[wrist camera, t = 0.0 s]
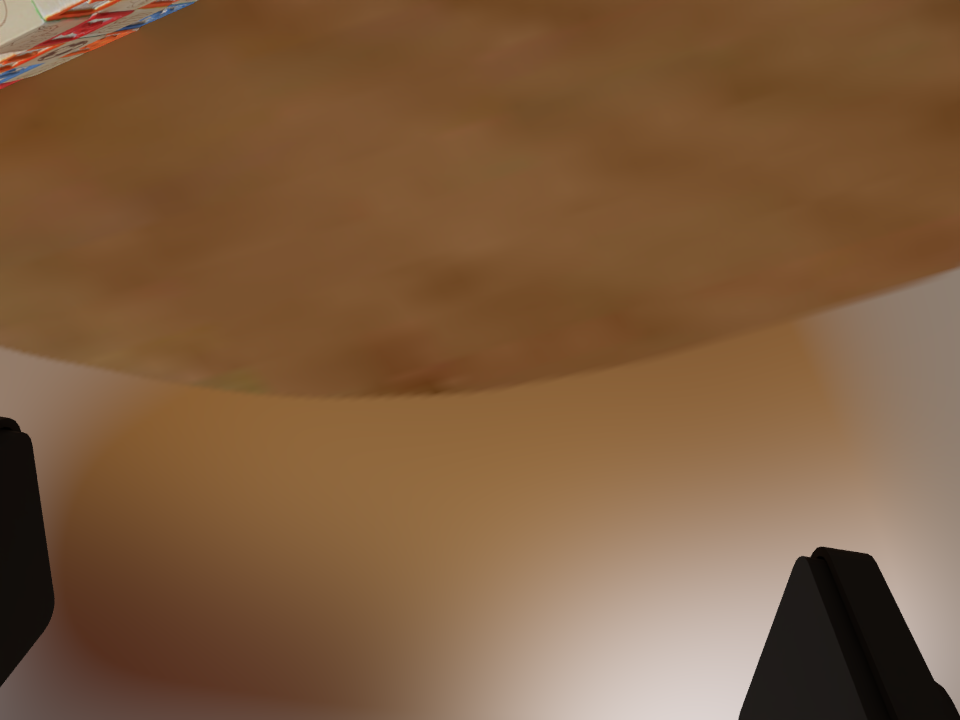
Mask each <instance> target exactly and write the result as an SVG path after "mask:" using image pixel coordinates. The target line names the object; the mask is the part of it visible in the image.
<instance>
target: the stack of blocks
mask: <svg viewBox="0 0 960 720" xmlns="http://www.w3.org/2000/svg"><path fill="white" fill-rule="evenodd" d="M196 1H198V0H0V89H2V88H4V87H6V86H9V85H11V84H13V83H15V82H17V81H20V80H22V79H23V78H27V77H31V76H35V75H37V74H40V73H42V72H44V71H47V70H49V69H51V68H53V67H56V66H58V65H60V64H62V63H64V62H67V61H69V60H71V59H73V58H75V57H78V56H80V55H82V54H84V53H85V52H89V51H91V50H94V49H96V48H98V47H101V46H103V45H105V44H107V43H110V42H112V41H114V40H116V39H119V38H121V37H123V36H125V35H128V34H130V33H132V32H134V31H137V30H139V28H140V27H141V26H143V25H145V24H148V23H150V22H152V21H155V20H157V19H159V18H161V17H163V16H166V15H168V14H170V13H172V12H175V11H177V10H179V9H182V8H184V7H186V6H188V5H191V4H193V3H194V2H196Z"/></svg>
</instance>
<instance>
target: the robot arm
mask: <svg viewBox="0 0 960 720" xmlns="http://www.w3.org/2000/svg"><path fill="white" fill-rule="evenodd" d="M53 609H54V591H53V585H52V578H51V571H50V564H49V557H48V550H47V543H46V536H45V529H44V522H43V515H42V508H41V502H40V495H39V488H38V481H37V474H36V467H35V460H34V454H33V446H32V442H31V439H30V437H29V436H28V435H27V434H26V433H23V432H21V430H20V427H19V426H18V424H17V423H16V421H14V420H12V419H10V418H6V417H0V687H1V685H2V684H3V683H4V682H5V680H6V679H7V678H8V677H9V675H10V674H11V673H12V671H13V670H14V669H15V667H16V666H17V665H18V664H19V662H20V661H21V660H22V659H23V657H24V656H25V655H26V653H27V652H28V651H29V650H30V648H31V647H32V646H33V644H34V643H35V642H36V640H37V639H38V638H39V637H40V635H41V634H42V633H43V632H44V630H45V629H46V627H47V626H48V624H49V621H50V619H51V617H52V613H53ZM739 720H960V715H959V713H958V711H957V709H956V707H955V705H954V703H953V702H952V700H951V698H950V697H949V695H948V694H947V692H946V691H945V689H944V688H943V687H942V686H941V685H939V684H938V683H937V682H935V681H934V679H933V677H932V675H931V673H930V671H929V669H928V667H927V665H926V663H925V661H924V659H923V657H922V655H921V653H920V651H919V648H918V646H917V644H916V642H915V640H914V638H913V636H912V634H911V632H910V630H909V628H908V626H907V624H906V622H905V620H904V618H903V616H902V614H901V612H900V610H899V608H898V606H897V604H896V602H895V600H894V597H893V596H892V593H891V592H890V589H889V587H888V585H887V583H886V581H885V579H884V577H883V575H882V573H881V571H880V569H879V567H878V565H877V563H876V562H875V560H874V558H873V557H872V556H870V555H869V554H865V553H859V552H853V551H846V550H839V549H834V548H827V547H819V548H817V549H816V550H815V551H814V552H813V553H812V555H811V557H805V556H801V557H799V558H798V559H797V560H796V562H795V564H794V567H793V569H792V572H791V575H790V577H789V580H788V583H787V586H786V588H785V591H784V594H783V597H782V599H781V602H780V605H779V607H778V610H777V613H776V616H775V619H774V621H773V624H772V627H771V629H770V632H769V635H768V638H767V640H766V643H765V646H764V648H763V651H762V654H761V657H760V659H759V662H758V665H757V668H756V670H755V673H754V676H753V679H752V682H751V684H750V687H749V689H748V692H747V695H746V698H745V701H744V703H743V707H742V709H741V711H740V715H739Z"/></svg>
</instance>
